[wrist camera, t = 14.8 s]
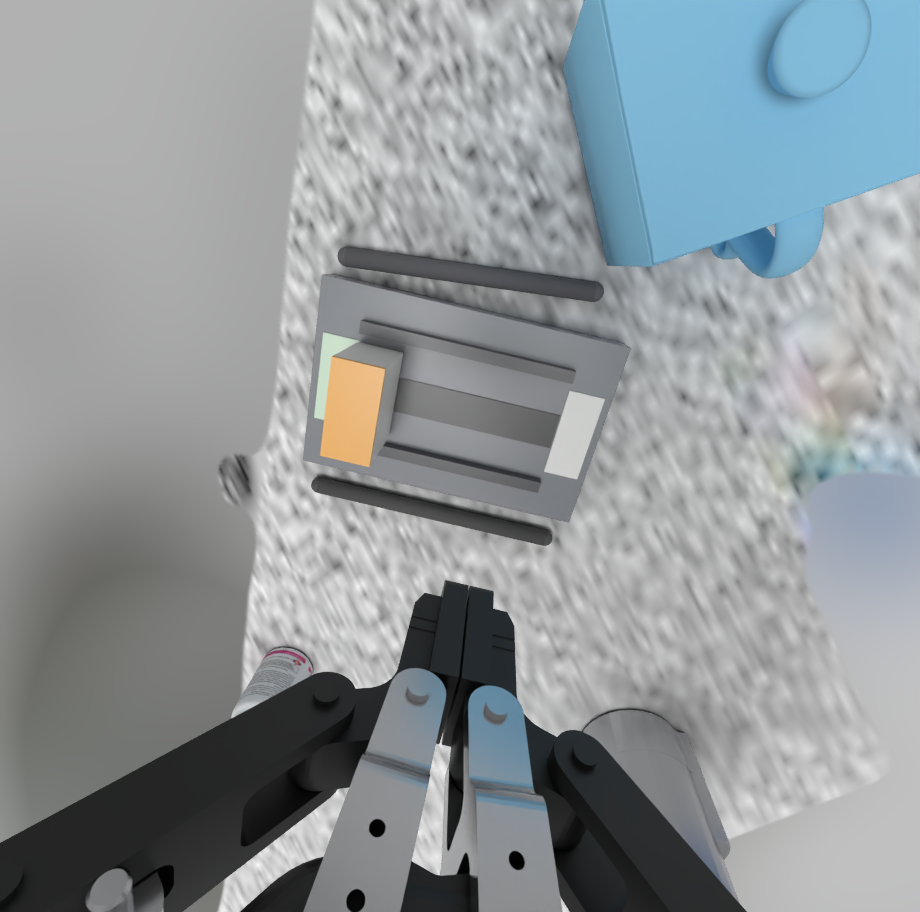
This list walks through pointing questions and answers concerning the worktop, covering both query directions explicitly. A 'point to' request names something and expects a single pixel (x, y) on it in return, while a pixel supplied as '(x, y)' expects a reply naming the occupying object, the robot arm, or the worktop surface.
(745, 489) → the worktop surface
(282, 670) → the pill bottle
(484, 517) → the dark grey rod
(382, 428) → the grey orange rectangular block
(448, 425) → the panel
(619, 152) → the teapot
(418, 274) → the cord
